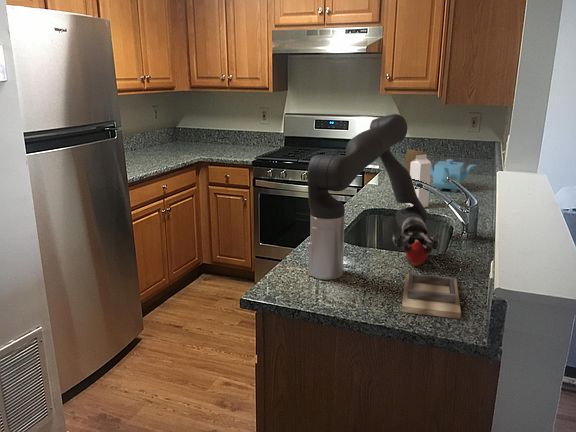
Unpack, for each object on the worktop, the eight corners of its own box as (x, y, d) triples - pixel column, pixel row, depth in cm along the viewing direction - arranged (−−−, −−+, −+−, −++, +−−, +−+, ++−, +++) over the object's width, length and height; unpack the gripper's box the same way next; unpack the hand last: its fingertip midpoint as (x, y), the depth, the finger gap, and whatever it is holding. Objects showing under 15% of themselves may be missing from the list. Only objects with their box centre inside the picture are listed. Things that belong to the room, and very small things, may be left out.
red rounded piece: (422, 262, 142) (424, 236, 140) (428, 269, 136) (430, 243, 134) (403, 262, 142) (404, 236, 139) (408, 270, 136) (410, 243, 134)
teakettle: (451, 184, 246) (453, 155, 242) (476, 191, 229) (479, 161, 225) (419, 187, 240) (421, 158, 236) (443, 195, 223) (445, 164, 219)
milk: (407, 205, 205) (410, 154, 199) (418, 204, 208) (421, 153, 202) (418, 208, 200) (421, 156, 194) (428, 206, 203) (432, 155, 197)
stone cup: (424, 175, 270) (426, 148, 266) (426, 179, 258) (428, 151, 254) (396, 174, 272) (398, 148, 268) (397, 178, 261) (399, 151, 257)
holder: (401, 311, 112) (402, 298, 111) (405, 278, 130) (406, 266, 129) (460, 318, 109) (461, 304, 108) (455, 283, 127) (456, 271, 126)
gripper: (391, 218, 151) (392, 235, 135) (438, 220, 148) (445, 238, 132) (390, 241, 153) (391, 260, 137) (436, 243, 151) (443, 263, 135)
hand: (417, 249), depth 135 cm, fingers closed on red rounded piece, 5 cm apart
